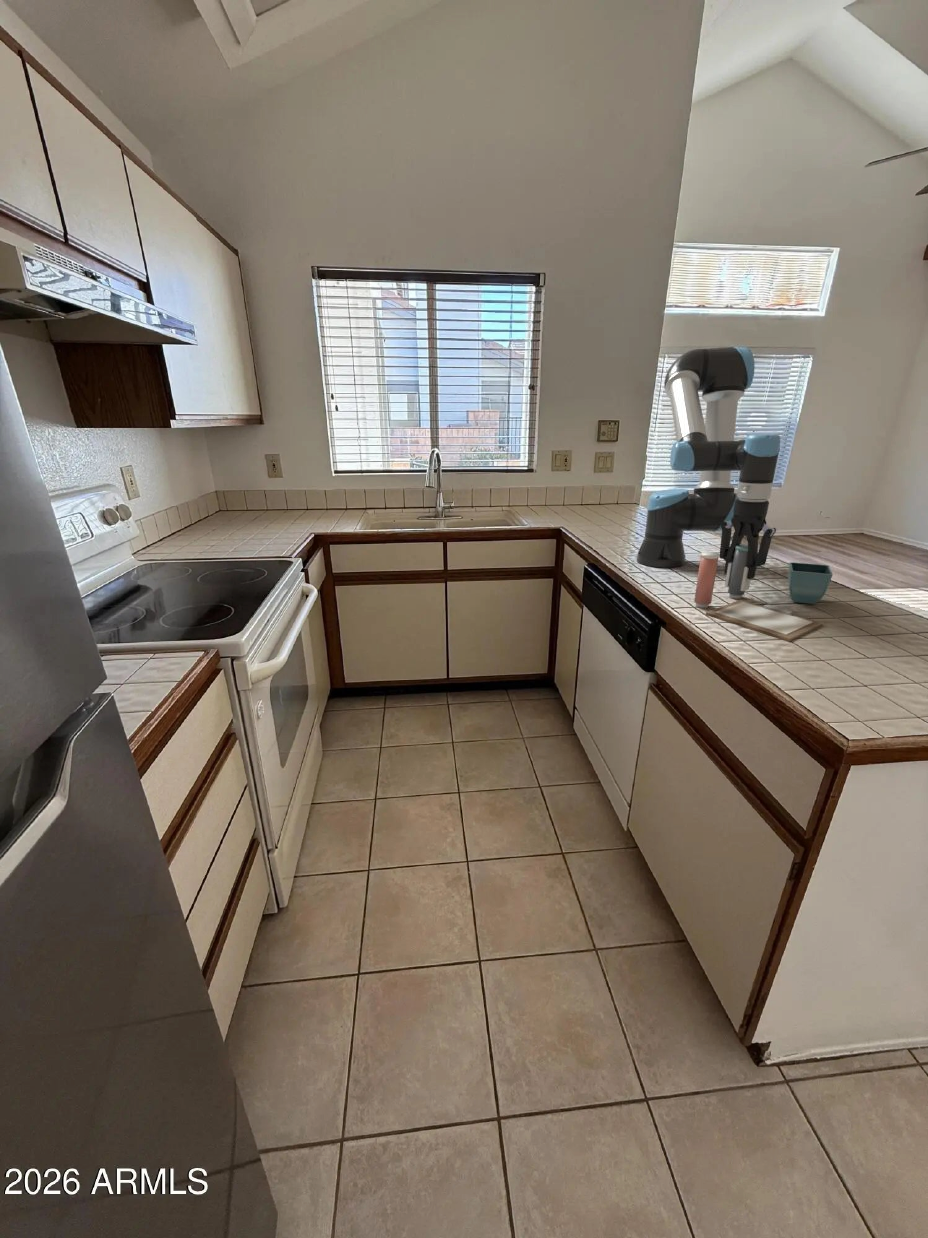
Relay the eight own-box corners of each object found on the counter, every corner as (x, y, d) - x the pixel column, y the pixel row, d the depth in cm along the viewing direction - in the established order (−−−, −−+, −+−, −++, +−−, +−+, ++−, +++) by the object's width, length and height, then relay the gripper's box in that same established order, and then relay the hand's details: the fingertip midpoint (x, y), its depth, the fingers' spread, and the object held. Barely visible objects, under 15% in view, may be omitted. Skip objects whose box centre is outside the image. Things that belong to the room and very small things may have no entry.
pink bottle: (690, 605, 134) (697, 553, 128) (699, 602, 136) (707, 550, 130) (704, 610, 130) (712, 556, 125) (714, 606, 132) (722, 553, 127)
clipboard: (705, 614, 128) (706, 609, 127) (740, 601, 135) (741, 596, 134) (788, 641, 112) (790, 635, 111) (822, 625, 119) (824, 620, 119)
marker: (723, 596, 139) (732, 545, 134) (732, 593, 141) (741, 543, 136) (738, 600, 136) (747, 549, 130) (747, 597, 138) (756, 546, 132)
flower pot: (784, 603, 133) (791, 570, 129) (782, 593, 140) (789, 561, 137) (824, 608, 129) (833, 574, 126) (820, 597, 136) (829, 565, 133)
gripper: (712, 497, 133) (699, 582, 142) (778, 505, 120) (759, 599, 129) (729, 494, 137) (716, 577, 146) (795, 501, 124) (776, 593, 133)
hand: (736, 587), depth 137 cm, fingers closed on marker, 4 cm apart
